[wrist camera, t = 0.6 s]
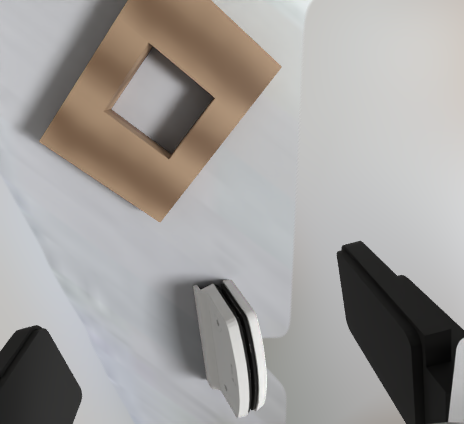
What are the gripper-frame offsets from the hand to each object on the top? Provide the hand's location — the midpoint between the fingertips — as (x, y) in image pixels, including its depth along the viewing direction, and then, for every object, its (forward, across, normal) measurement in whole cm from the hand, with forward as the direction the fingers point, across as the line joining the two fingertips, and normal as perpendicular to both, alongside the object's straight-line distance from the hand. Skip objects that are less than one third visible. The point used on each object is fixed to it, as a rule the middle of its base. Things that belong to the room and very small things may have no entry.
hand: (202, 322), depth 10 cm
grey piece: (+28, +3, +25) cm, 38 cm away
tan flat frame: (+28, +2, -6) cm, 29 cm away
